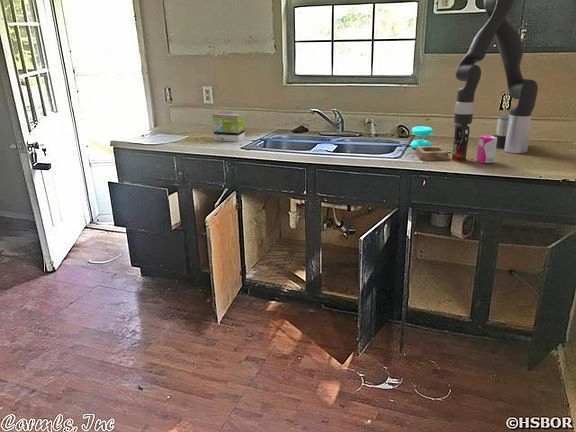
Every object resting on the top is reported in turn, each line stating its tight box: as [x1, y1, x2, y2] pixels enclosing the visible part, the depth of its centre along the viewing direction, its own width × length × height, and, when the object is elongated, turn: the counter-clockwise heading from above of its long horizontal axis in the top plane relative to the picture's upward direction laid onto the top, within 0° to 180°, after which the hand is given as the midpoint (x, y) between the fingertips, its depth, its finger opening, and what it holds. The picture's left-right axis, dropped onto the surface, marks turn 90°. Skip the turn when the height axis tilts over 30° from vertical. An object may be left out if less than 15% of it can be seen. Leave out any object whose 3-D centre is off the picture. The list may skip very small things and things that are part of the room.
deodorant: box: [451, 125, 470, 162], centre depth 212 cm, size 6×6×15 cm
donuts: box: [410, 126, 433, 150], centre depth 236 cm, size 10×10×10 cm
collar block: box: [415, 145, 449, 161], centre depth 220 cm, size 12×12×4 cm
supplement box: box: [476, 135, 497, 165], centre depth 207 cm, size 6×6×12 cm
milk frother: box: [491, 115, 509, 150], centre depth 235 cm, size 14×16×15 cm
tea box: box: [212, 111, 246, 143], centre depth 265 cm, size 15×10×15 cm, turn 73°
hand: (459, 149), depth 213 cm, fingers closed on deodorant, 6 cm apart
